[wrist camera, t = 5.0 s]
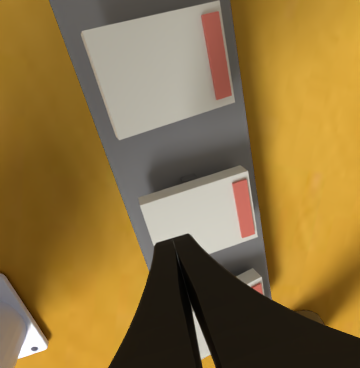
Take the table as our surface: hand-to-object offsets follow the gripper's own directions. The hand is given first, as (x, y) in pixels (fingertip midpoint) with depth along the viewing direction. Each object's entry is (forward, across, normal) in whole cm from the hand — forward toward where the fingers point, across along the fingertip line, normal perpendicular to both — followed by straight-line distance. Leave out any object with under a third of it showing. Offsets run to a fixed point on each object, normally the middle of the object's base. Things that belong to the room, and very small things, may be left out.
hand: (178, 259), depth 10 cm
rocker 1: (+5, -2, -6) cm, 8 cm away
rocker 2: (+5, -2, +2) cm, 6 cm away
